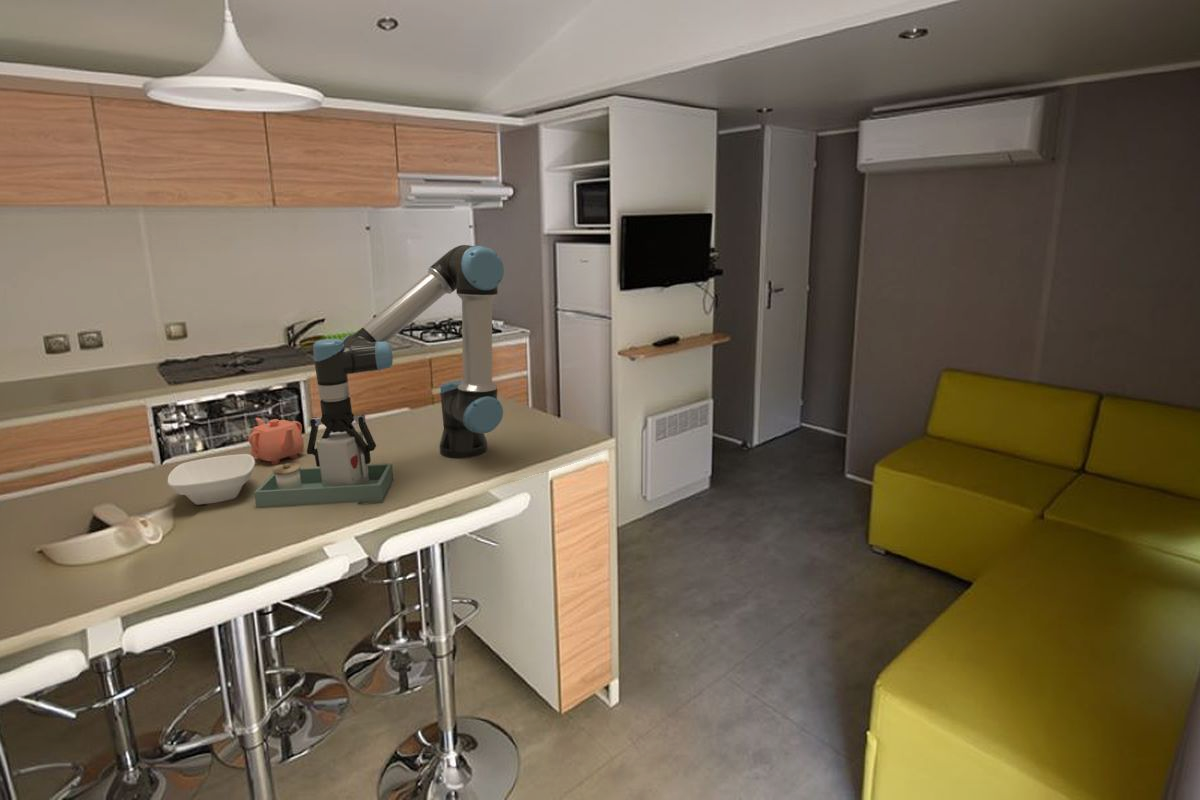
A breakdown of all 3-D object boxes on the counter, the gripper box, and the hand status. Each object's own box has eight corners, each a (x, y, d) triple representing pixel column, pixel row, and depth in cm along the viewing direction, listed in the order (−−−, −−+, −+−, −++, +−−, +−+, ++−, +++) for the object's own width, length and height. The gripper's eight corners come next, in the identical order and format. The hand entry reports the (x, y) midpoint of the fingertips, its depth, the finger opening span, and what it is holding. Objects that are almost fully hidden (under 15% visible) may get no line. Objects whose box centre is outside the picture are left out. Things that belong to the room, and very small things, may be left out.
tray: (393, 479, 194) (392, 463, 192) (382, 502, 178) (380, 485, 177) (278, 486, 191) (276, 469, 189) (256, 510, 175) (253, 492, 174)
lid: (303, 464, 185) (303, 459, 185) (295, 474, 178) (294, 468, 178) (278, 466, 184) (277, 460, 184) (269, 475, 178) (268, 469, 177)
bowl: (167, 520, 171) (161, 489, 168) (180, 490, 189) (174, 462, 187) (257, 505, 179) (252, 475, 176) (261, 478, 197) (256, 450, 195)
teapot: (298, 465, 206) (292, 426, 203) (242, 468, 205) (235, 428, 202) (313, 448, 221) (308, 412, 217) (261, 451, 219) (255, 414, 216)
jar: (305, 488, 187) (302, 464, 185) (298, 497, 181) (294, 473, 179) (283, 489, 186) (279, 466, 184) (275, 498, 180) (271, 474, 178)
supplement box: (353, 494, 180) (345, 442, 175) (323, 493, 181) (314, 441, 177) (370, 481, 188) (363, 430, 184) (341, 480, 190) (333, 430, 186)
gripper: (382, 392, 182) (390, 468, 188) (295, 396, 180) (306, 473, 186) (376, 399, 175) (385, 478, 181) (285, 403, 173) (297, 483, 179)
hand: (345, 475), depth 184 cm, fingers open, 10 cm apart
